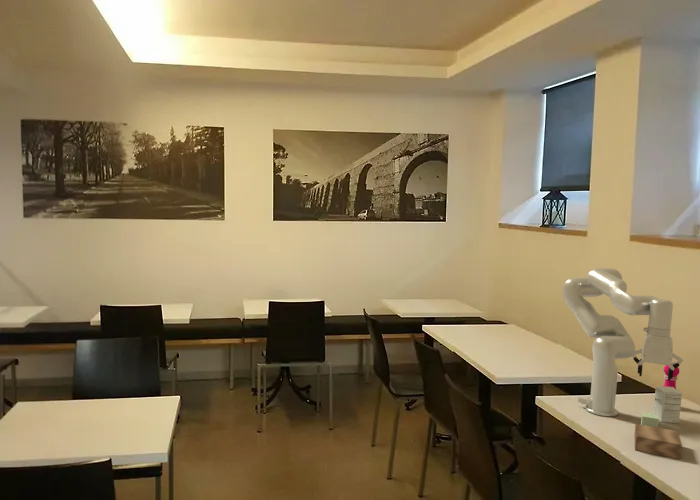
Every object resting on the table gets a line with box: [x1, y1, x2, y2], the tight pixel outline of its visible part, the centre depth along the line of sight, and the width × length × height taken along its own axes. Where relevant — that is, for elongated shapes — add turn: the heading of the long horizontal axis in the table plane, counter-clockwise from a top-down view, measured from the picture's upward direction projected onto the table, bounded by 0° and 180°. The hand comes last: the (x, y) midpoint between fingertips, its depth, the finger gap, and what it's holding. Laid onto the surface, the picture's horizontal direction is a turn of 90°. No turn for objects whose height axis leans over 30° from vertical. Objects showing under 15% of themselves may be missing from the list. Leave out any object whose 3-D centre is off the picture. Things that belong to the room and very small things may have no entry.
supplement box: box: [652, 385, 683, 424], centre depth 247 cm, size 7×7×13 cm
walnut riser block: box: [633, 423, 683, 460], centre depth 216 cm, size 14×14×5 cm
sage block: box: [640, 411, 660, 428], centre depth 230 cm, size 6×6×7 cm
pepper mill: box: [663, 360, 680, 389], centre depth 264 cm, size 7×7×20 cm
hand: (654, 377), depth 228 cm, fingers open, 9 cm apart
